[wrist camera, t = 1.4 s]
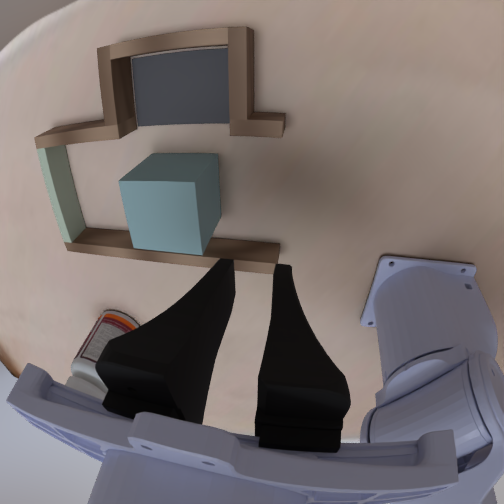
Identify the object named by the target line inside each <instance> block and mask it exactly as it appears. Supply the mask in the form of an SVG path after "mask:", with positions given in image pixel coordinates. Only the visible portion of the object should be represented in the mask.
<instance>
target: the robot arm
mask: <svg viewBox="0 0 504 504" xmlns="http://www.w3.org/2000/svg"><path fill="white" fill-rule="evenodd" d="M392 261H393V263H391V264H390V262H392ZM463 268H464V269H463ZM462 269H463V270H462ZM476 270H477V269H476V267H475V265H473V264H463V263H454V262H444V261H434V260H424V259H414V258H405V257H394V256H383V257H381V258H380V260H379V264H378V267H377V270H376V274H375V277H374V280H373V283H372V287H371V290H370V293H369V296H368V299H367V302H366V305H365V308H364V311H363V314H362V317H361V320H360V324H361V325H362V326H368V327H376V328H377V335H378V342H379V350H380V359H381V368H382V377H383V389H381V390H380V391H379V392H377V393H376V394H375V396H376V407H374V408H373V409H371V410H370V411H369V412H368V413H367V414H366V416H365V417H364V420H363V422H362V426H361V432H360V443H341V430H342V428H343V418H344V417H345V415H346V413H347V412H348V410H349V408H350V405H351V399H350V393H349V388H348V384H347V381H346V378H345V376H344V374H343V373H342V372H341V371H340V370H339V369H338V368H337V366H336V365H335V364H334V363H333V361H332V360H331V359H330V357H329V356H328V355H327V353H326V352H325V350H324V349H323V347H322V346H321V344H320V343H319V341H318V340H317V338H316V336H315V334H314V333H313V331H312V329H311V327H310V325H309V323H308V321H307V319H306V317H305V315H304V312H303V310H302V307H301V305H300V302H299V299H298V296H297V293H296V289H295V286H294V281H293V276H292V267H291V266H290V265H286V264H275V269H274V273H273V292H272V309H271V320H270V326H269V331H268V336H267V341H266V345H265V350H264V355H263V359H262V363H261V367H260V372H259V375H258V401H257V411H256V416H255V436H249V435H242V434H236V433H230V432H227V431H225V430H222V429H218V428H215V427H211V426H206V425H202V423H203V417H204V411H205V406H206V401H207V395H208V390H209V386H210V381H211V376H212V372H213V368H214V363H215V359H216V356H217V352H218V349H219V347H220V344H221V341H222V338H223V335H224V332H225V330H226V327H227V324H228V321H229V318H230V315H231V312H232V308H233V303H234V298H235V293H236V291H235V272H234V259H224V258H220V259H219V260H218V261H217V262H216V263H215V264H214V266H213V267H212V268H211V269H210V270H209V271H208V272H207V273H206V274H205V276H204V277H203V278H202V279H201V280H200V281H199V282H198V283H197V284H196V285H195V286H194V287H193V288H192V289H191V290H190V291H188V292H187V293H186V294H185V295H184V296H183V297H182V298H181V299H180V300H178V301H177V302H176V303H175V304H174V305H172V306H171V307H170V308H168V309H167V310H166V311H164V312H163V313H161V314H160V315H158V316H157V317H155V318H154V319H152V320H150V321H149V322H147V323H145V324H143V325H142V326H140V327H138V328H136V329H134V330H132V331H130V332H128V333H125V334H123V335H120V336H118V337H116V338H113V339H110V340H109V341H108V343H107V344H106V346H105V347H104V349H103V351H102V353H101V355H100V357H99V359H98V361H97V362H96V364H95V370H96V372H97V374H98V376H99V377H100V379H101V380H102V381H103V383H104V384H105V386H106V387H107V388H108V392H107V394H106V396H105V398H104V400H102V399H99V398H96V397H93V396H91V395H88V394H85V393H83V392H80V391H78V390H75V389H73V388H70V387H68V386H65V385H63V384H61V383H58V382H56V381H54V380H53V379H52V377H51V376H50V375H49V374H48V373H47V372H46V371H45V370H43V369H41V368H39V367H37V366H35V365H33V364H30V363H28V364H27V365H26V367H25V369H24V370H23V372H22V374H21V375H20V377H19V379H18V380H17V382H16V384H15V386H14V388H13V389H12V391H11V393H10V394H9V396H8V398H7V400H6V401H7V403H8V404H9V405H10V406H11V407H13V409H15V410H16V411H17V412H18V413H19V414H20V415H21V416H23V417H24V418H25V419H26V420H27V421H28V422H29V423H31V424H32V425H33V426H35V427H37V428H38V429H40V430H42V431H43V432H45V433H47V434H49V435H51V436H52V437H54V438H56V439H58V440H60V441H61V442H63V443H65V444H67V445H69V446H71V447H72V448H75V449H77V450H78V451H80V452H82V453H84V454H86V455H88V456H90V457H93V458H94V459H97V460H99V461H101V462H103V463H102V466H101V468H100V471H99V474H98V476H97V479H96V482H95V485H94V487H93V490H92V493H91V496H90V498H89V501H88V504H386V503H390V504H497V501H496V496H495V492H494V488H493V487H494V485H495V484H496V483H497V481H498V480H499V479H500V478H501V476H502V475H503V473H504V375H503V373H502V371H501V369H500V367H499V365H498V364H497V362H496V361H495V356H496V352H497V345H498V336H497V329H496V325H495V322H494V319H493V317H492V315H491V313H490V310H489V308H488V306H487V304H486V302H485V299H484V297H483V295H482V293H481V291H480V289H479V287H478V285H477V283H476V281H475V279H474V275H475V273H476Z"/></svg>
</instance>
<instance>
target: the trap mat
mask: <svg viewBox="0 0 504 504" xmlns="http://www.w3.org/2000/svg"><path fill="white" fill-rule="evenodd" d="M132 66H133V79H134V91H135V101H136V111H137V119H138V126H152V125H171V124H204V123H230V115H229V72H228V48H224V49H207V50H195V51H184V52H175V53H167V54H160V55H153V56H147V57H141V58H135V59H132Z"/></svg>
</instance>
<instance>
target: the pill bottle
mask: <svg viewBox="0 0 504 504" xmlns="http://www.w3.org/2000/svg"><path fill="white" fill-rule="evenodd" d="M138 327H139V325H138V324H137V323H136V322H135V321H134V320H133V319H131V318H130V317H128V316H126V315H124V314H122V313H120V312H116V311H106V312H103V313H102V314H101V315H100V317H99V318H98V320H97V321H96V323H95V325H94V326H93V328H92V330H91V331H90V333H89V335H88V336H87V338H86V340H85V341H84V343H83V345H82V346H81V348H80V350H79V352H78V353H77V355H76V357H75V358H74V360H73V362H72V364H71V372H72V374H73V376H70V377H69V378H68V380H67V382H66V384H65V386H68V387H70V388H73V389H75V390H78V391H80V392H83V393H85V394H88V395H91V396H93V397H96V398H99V399H102V400H104V398H105V396H106V394H107V392H108V388H107V387H106V386H105V384H104V383H103V381H102V380H101V379H100V377H99V376H98V374H97V372H96V370H95V364H96V362H97V361H98V359H99V357H100V355H101V353H102V351H103V349H104V347H105V346H106V344H107V343H108V341H109V340H110V339H113V338H116V337H118V336H120V335H123V334H125V333H128V332H130V331H132V330H134V329H136V328H138Z"/></svg>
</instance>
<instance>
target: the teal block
mask: <svg viewBox="0 0 504 504" xmlns="http://www.w3.org/2000/svg"><path fill="white" fill-rule="evenodd" d="M119 186H120V191H121V196H122V201H123V205H124V210H125V214H126V218H127V223H128V227H129V231H130V235H131V239H132V243H133V247H134V248H137V249H147V250H156V251H166V252H175V253H185V254H195V255H203V253H204V251H205V249H206V247H207V245H208V243H209V241H210V239H211V236H212V234H213V232H214V230H215V228H216V226H217V224H218V222H219V220H220V218H221V204H220V186H219V166H218V154H214V153H155V154H151V155H150V156H149V157H147V158H146V159H145V160H144V161H142V162H141V163H140V164H138V165H137V166H136V167H135V168H134V169H132V170H131V171H130V172H129V173H127V174H126V175H125V176H124V177H123V178H121V179H120V180H119Z"/></svg>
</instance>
